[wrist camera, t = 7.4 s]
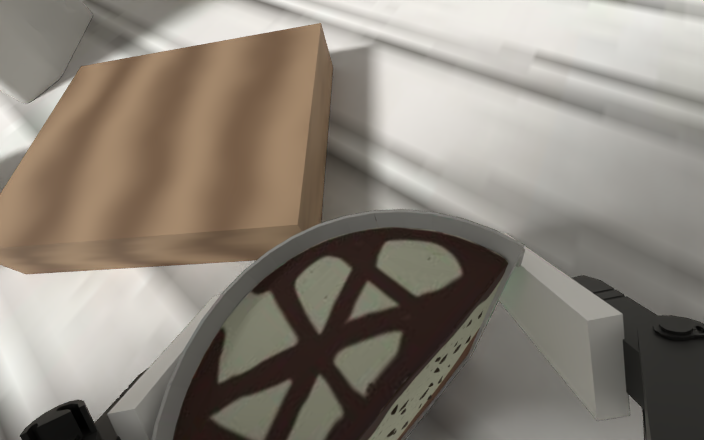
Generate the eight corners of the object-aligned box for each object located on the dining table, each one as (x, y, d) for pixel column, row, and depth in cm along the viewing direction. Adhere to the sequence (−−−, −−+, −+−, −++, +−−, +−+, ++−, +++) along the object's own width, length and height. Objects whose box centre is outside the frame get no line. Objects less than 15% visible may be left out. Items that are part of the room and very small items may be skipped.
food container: (396, 260, 21) (370, 136, 13) (490, 332, 18) (536, 230, 9) (231, 434, 18) (48, 423, 9) (310, 559, 14) (141, 708, 6)
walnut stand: (25, 274, 26) (-36, 250, 22) (115, 101, 35) (80, 66, 31) (318, 256, 22) (297, 224, 18) (333, 67, 31) (320, 23, 28)
